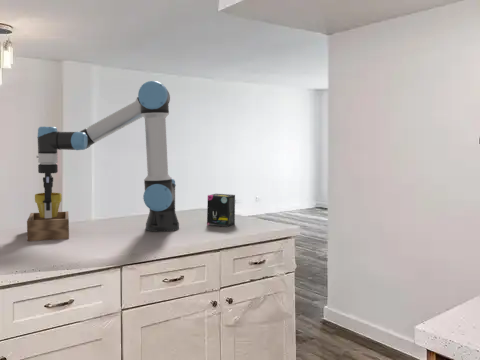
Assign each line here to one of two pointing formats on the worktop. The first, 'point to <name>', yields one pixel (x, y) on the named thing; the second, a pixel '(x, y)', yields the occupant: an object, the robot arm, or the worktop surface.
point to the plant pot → (55, 200)
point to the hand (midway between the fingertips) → (48, 216)
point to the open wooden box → (48, 227)
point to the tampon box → (221, 210)
